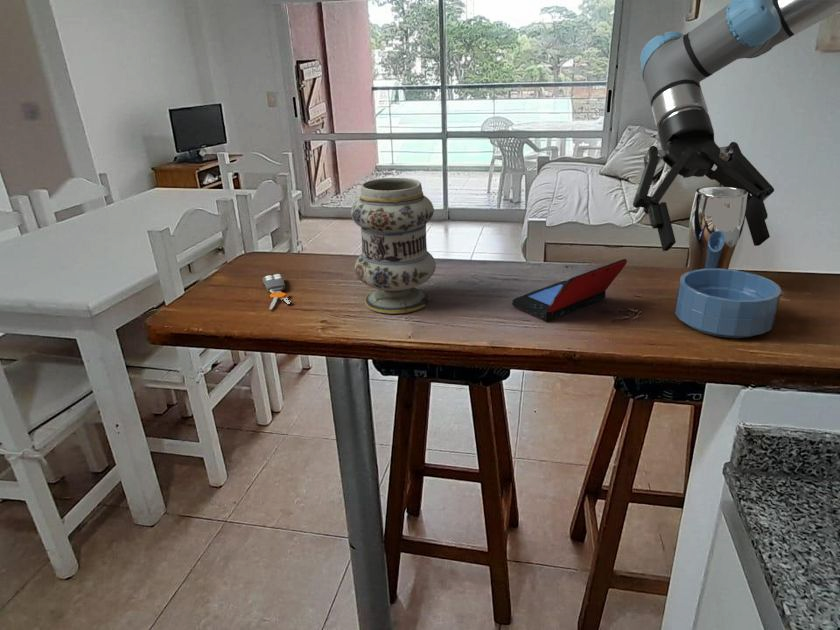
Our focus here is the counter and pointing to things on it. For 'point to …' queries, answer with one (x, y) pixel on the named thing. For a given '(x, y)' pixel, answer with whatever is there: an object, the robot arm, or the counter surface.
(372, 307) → the apothecary jar
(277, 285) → the key chain
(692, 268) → the beer glass
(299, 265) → the counter surface
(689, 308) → the bowl
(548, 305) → the handheld console
